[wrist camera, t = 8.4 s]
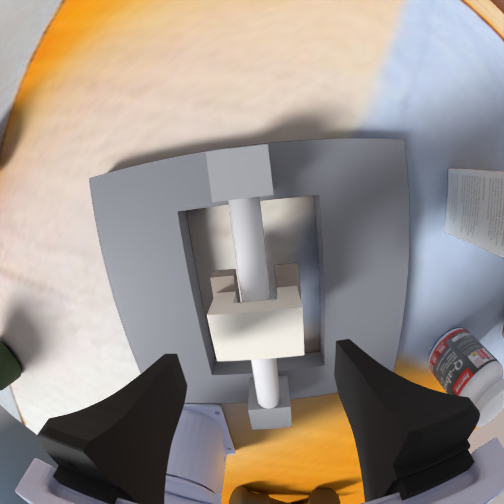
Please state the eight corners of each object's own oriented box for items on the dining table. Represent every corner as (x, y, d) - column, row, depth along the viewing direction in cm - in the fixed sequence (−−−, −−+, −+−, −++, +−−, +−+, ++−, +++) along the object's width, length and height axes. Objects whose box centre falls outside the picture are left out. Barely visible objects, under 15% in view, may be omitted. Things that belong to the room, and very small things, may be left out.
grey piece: (384, 368, 22) (405, 406, 17) (158, 387, 24) (141, 427, 18) (391, 142, 17) (433, 133, 12) (102, 177, 18) (58, 181, 13)
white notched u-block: (301, 331, 18) (308, 368, 14) (225, 337, 18) (217, 374, 15) (296, 262, 17) (305, 288, 13) (213, 271, 17) (199, 297, 13)
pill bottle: (430, 336, 21) (483, 399, 12) (470, 318, 21) (526, 369, 11) (423, 377, 23) (463, 440, 13) (461, 359, 22) (505, 412, 13)
